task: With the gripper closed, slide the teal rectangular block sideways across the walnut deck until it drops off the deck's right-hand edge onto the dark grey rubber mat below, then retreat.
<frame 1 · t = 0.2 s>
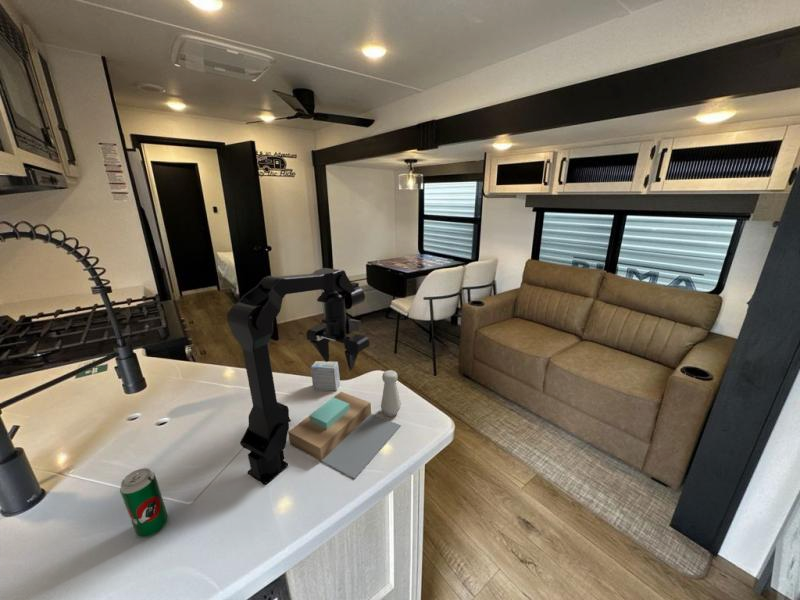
hand: (339, 365, 91), 14 cm above the counter, fingers open, 9 cm apart
salt shaker: (391, 412, 93), on the counter
deck: (333, 428, 86), on the counter
mat: (364, 442, 81), on the counter
medicine box: (327, 387, 106), on the counter
teal rectangular block: (330, 415, 86), point 4 cm above the counter, touching deck
soda can: (153, 526, 61), on the counter
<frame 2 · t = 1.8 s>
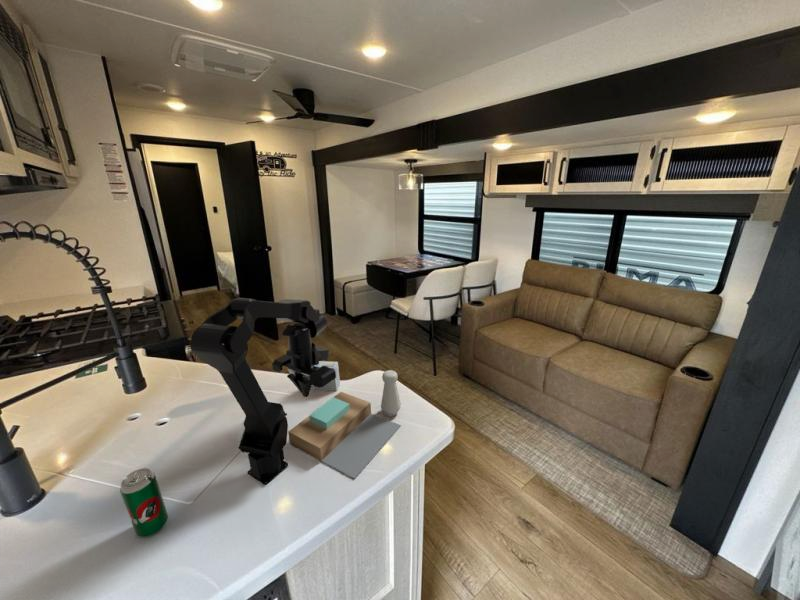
hand: (306, 396, 89), 7 cm above the counter, fingers closed
nothing on the counter moved.
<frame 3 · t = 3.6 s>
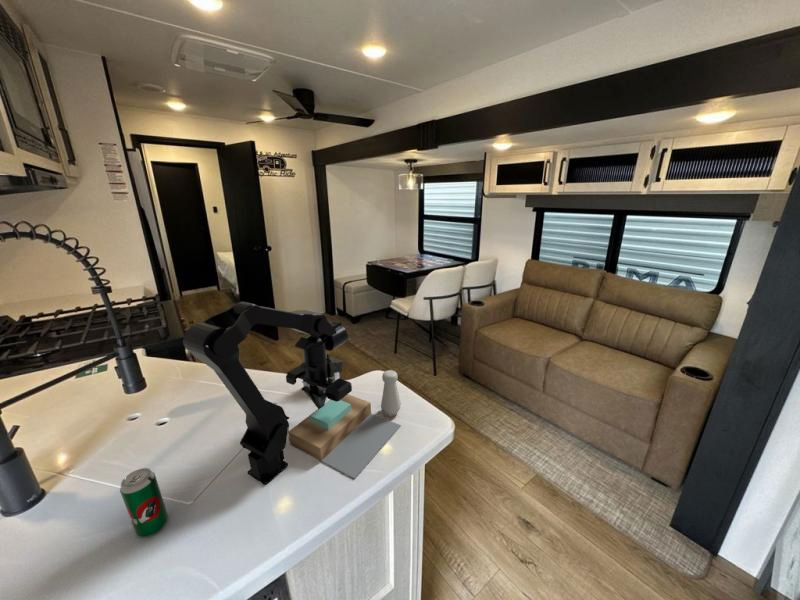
hand: (320, 408, 87), 5 cm above the counter, fingers closed
teal rectangular block: (331, 416, 85), point 4 cm above the counter, touching gripper
everything else where it was.
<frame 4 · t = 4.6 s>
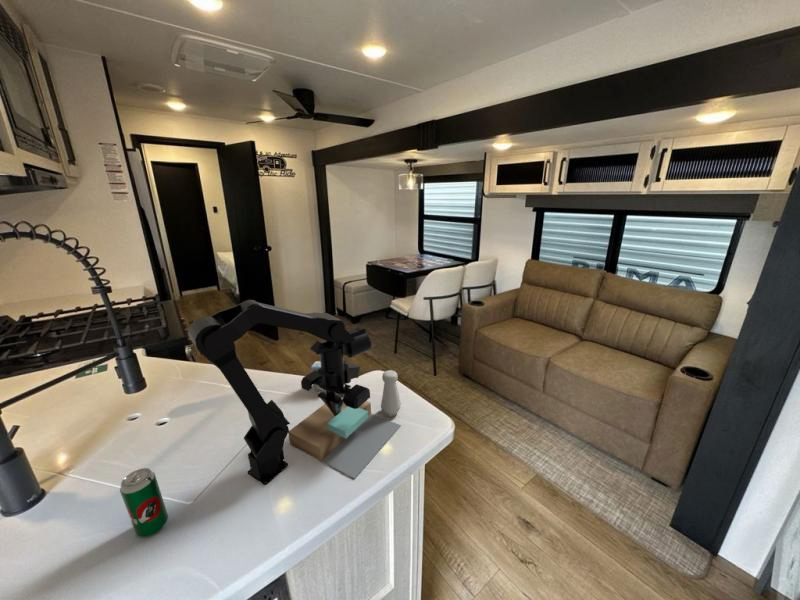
hand: (337, 415, 84), 5 cm above the counter, fingers closed
teal rectangular block: (348, 423, 82), point 4 cm above the counter, touching gripper
everything else where it was.
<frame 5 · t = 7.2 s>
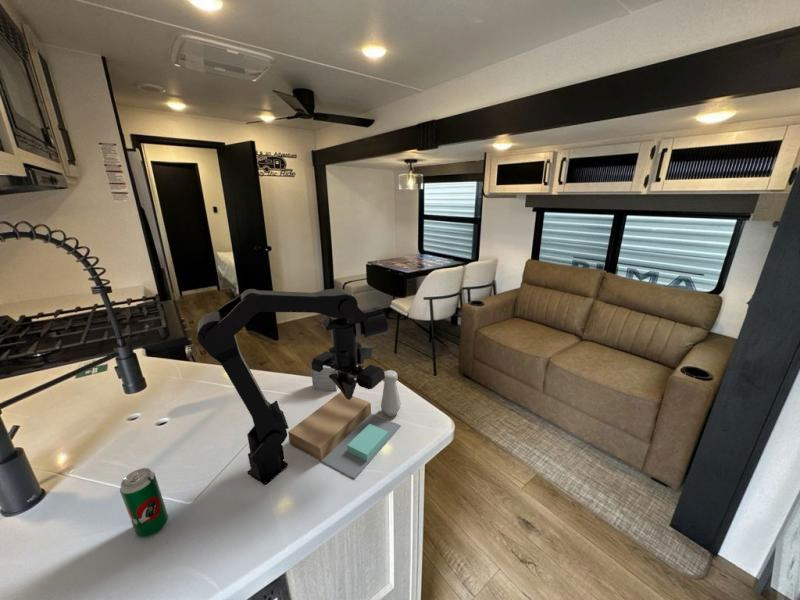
hand: (349, 398, 80), 12 cm above the counter, fingers closed
teal rectangular block: (368, 438, 80), point 2 cm above the counter, tilted 180°, touching mat
everything else where it was.
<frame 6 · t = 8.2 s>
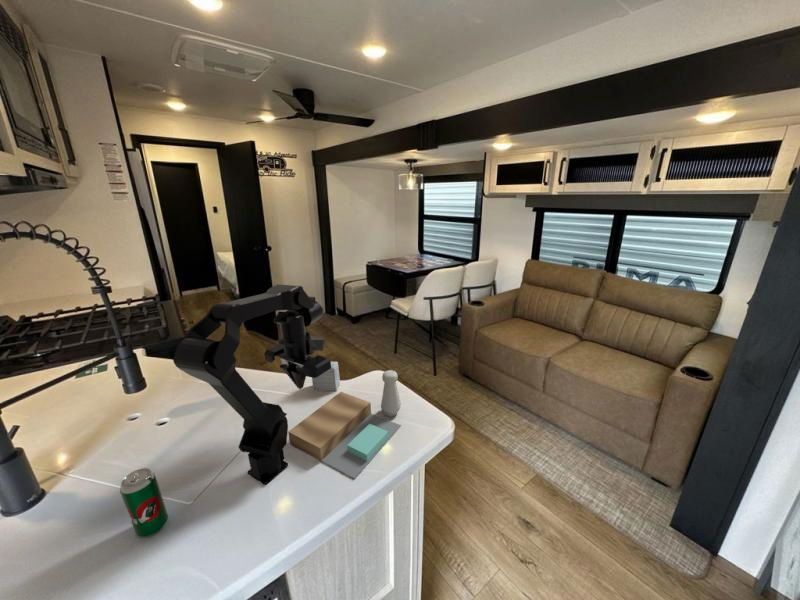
hand: (300, 388, 84), 12 cm above the counter, fingers closed
nothing on the counter moved.
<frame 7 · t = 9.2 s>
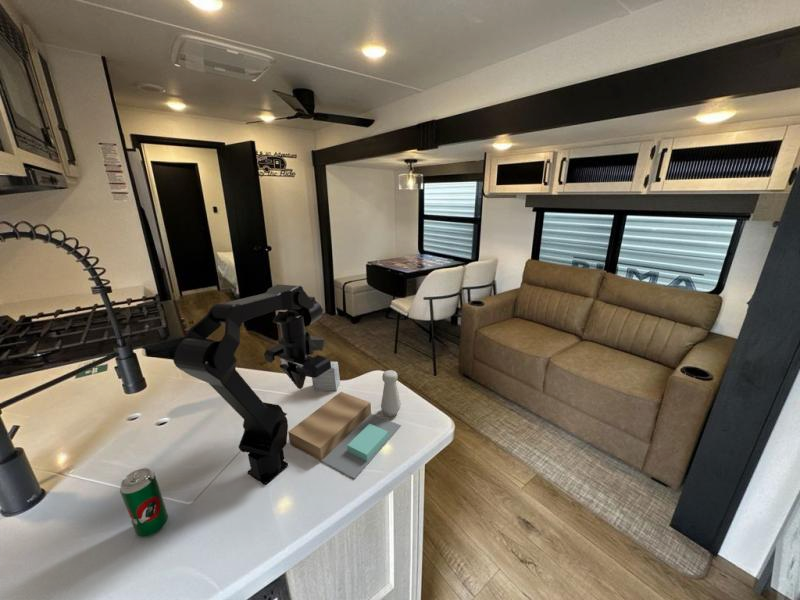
hand: (300, 387, 84), 12 cm above the counter, fingers closed
nothing on the counter moved.
at the end: teal rectangular block point 2.3 cm above the counter; teal rectangular block inside the target area on the mat (1.7 cm from its centre), point 2.3 cm above the mat's base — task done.
